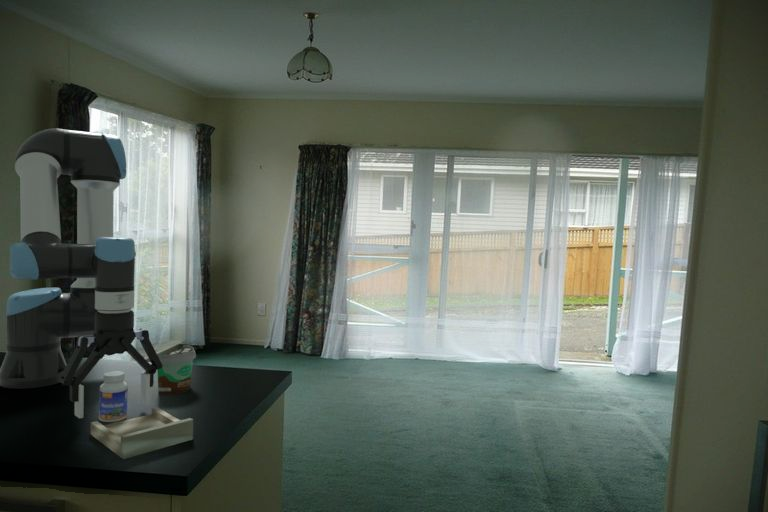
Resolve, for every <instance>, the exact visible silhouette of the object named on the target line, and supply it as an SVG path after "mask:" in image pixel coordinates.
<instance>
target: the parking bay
mask: <svg viewBox="0 0 768 512" xmlns="http://www.w3.org/2000/svg"><path fill="white" fill-rule="evenodd" d="M90 435H91V436H92V437H93V438H95V439H96V440H97V441H98V442H100V443H101V444H102V445H104V446H105V447H107V448H108V449H109V450H110V451H112V452H113V453H114V454H116V455H117V456H118V457H120V458H121V459H122V460H126V459H129V458H133V457H137V456H140V455H144V454H148V453H150V452H154V451H158V450H161V449H165V448H167V447H171V446H174V445H177V444H181V443H185V442H188V441H189V442H190V441H192V440H193V439H194V419H193V418H192V417H189V418H185V419H180V418H176V416H175V417H174V416H173V415H171V414H170V413H168V412H166V411H165V410H162V409H161V408H159V407H154V408H151V413H150V414H147V415H142V416H138V417H133V418H130V419H126V420H125V419H124V420H121V421H117V422H111V423H109V424H105V425H103V424H102V423H101V422H99V420H96V421H92V422H90Z"/></svg>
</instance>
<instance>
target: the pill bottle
mask: <svg viewBox="0 0 768 512" xmlns="http://www.w3.org/2000/svg"><path fill="white" fill-rule="evenodd" d="M125 378H126V377H125V372H124V371H117V370H116V371H108V372H104V374H103V383H102V384H101V385H100V386H99V394H98V395H99V396H98V397H99V399H98V404H99V405H98V421H100V422H103V423H116V422H121V421H124V420H125V419H126V418H127V417H128V416H127V415H128V396H129V395H128V384H127V383H128V382H126V381H124V380H125Z"/></svg>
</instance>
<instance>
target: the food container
mask: <svg viewBox="0 0 768 512" xmlns="http://www.w3.org/2000/svg"><path fill="white" fill-rule="evenodd" d="M157 355H158V357H159V359H160V361H161V363H162V365H163V367H162V368H161V369H158V370H156V372H157V389H158V392H157V393H158V394H159V395H176V394H182V393H185V392H187V391H188V390H190V389H191V383H192V373H193V364H194V360H195V359H196V357H197V354H196V350H195V349H194V347H193V346H191V345H186V344H183V345H182V348H180V349H178V350H171V351H169V352H168V353H166V354H157Z"/></svg>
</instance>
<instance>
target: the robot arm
mask: <svg viewBox="0 0 768 512" xmlns="http://www.w3.org/2000/svg"><path fill="white" fill-rule="evenodd" d="M14 170H15V172H16V174H17V175H18V177H19V178H20V179H19V180H20V181H19V187H20V188H19V192H20V194H19V196H20V197H19V199H20V201H19V203H20V206H19V207H20V209H19V210H20V212H19V213H20V242H16V243H15V242H14V243H12V244H11V245H10V246H9V250H10V251H9V260H10V261H9V266H10V267H9V271H10V272H9V274H10V276H11V277H12V278H14V279H18V280H19V279H21V280H22V279H23V280H43V279H44V280H45V279H46V280H47V279H76V280H75V281H74V282H73V283H72V284H71V285H70V292H62V291H63V290H62V289H61V288H60V287H55V286H54V287H40V288H34V289H28V290H23V291H19V292H15V293H12V294H11V295H10V296H9V297H8V299H7V301H6V312H5V316H6V353H5V356H4V359H3V361H2V364H1V366H0V387H2V388H5V389H14V390H15V389H17V390H18V389H20V390H21V389H22V390H23V389H34V388H35V389H36V388H42V387H49V386H53V385H56V384H59V383H61V384H62V385H64V386H69V400H70V401H71V402H72V403H74V416H75V417H77V418H78V419H83V418H84V407H85V406H84V403H85V402H84V400H85V399H84V397H85V396H84V395H85V392H84V390H85V388H84V387H85V386H84V385H82V384H81V383H82V382H83V381H84V379H86V377H87V376H88V375H89V374H90V372H91V371H92V370H93V369H94V367H95V366H96V365H97V364H98V362H99V361H100V360H101V359H103V358H104V357H105V355H106V356H109V357H110V356H114V355H116V354H118V355H122V354H124V353H125V352H126V353H128V355H130V357H131V358H132V359H133V360H134V361H136V363H137V364H138V365H139V366H140V367H141V369H143V370H144V371H141V372H140V402H142V403H144V404H147V405H149V404H150V400H151V399H150V398H151V397H150V396H151V394H150V392H151V389H150V388H153V386H154V380H155V379H154V375H156V373H157V370H158V369H161V368H162V367H163V365H162V363H161V361H160V359H159V357H158V355H159V354H158V353H157V351H156V350H155V348H154V346H153V344H152V342H151V341H150V340H151V339H150V333H149V330H147V329H144V328H140V329H138V330H134V327H135V312H134V311H133V309H134V307H135V270H136V269H135V268H136V266H135V265H136V263H135V262H136V255H137V252H136V248H135V247H136V246H135V245H136V244H135V240H134V239H133V238H131V237H124V236H123V237H121V236H119V237H118V236H114V192H115V190H116V189H117V188H119V186H120V185H121V183H120V182H121V181H120V180H124V179H126V177H127V158H126V151H125V148H124V144H123V142H122V140H121V138H119V137H118V136H117V135H115V134H107V133H103V132H95V131H94V132H93V131H83V130H71V129H63V128H57V127H56V128H48V129H47V128H46V129H43V130H40V131H38V132H35V133H34V134H33V135H30V136H29V137H28V138H27V139H26V140H25V141H24V142H23V143H22V144H21V145H20V146H19V148H18V150H17V152H16V154H15V158H14ZM61 175H64V176H65V175H67V176H70V183H71V184H72V185H73V187H75V189H76V190H77V200H76V203H77V204H76V205H77V207H76V208H77V215H76V220H77V221H76V224H77V228H76V229H77V230H76V231H77V233H76V237H77V239H76V243H62V235H61V233H62V232H61V221H60V219H61V217H60V203H59V189H58V186H59V185H58V178H59V177H60V176H61ZM64 338H76V339H77V340H76V346H75V349H74V350H73V352H72V354H71V356H70V357H69V360H68V361H67V363H66V359H65V356H64V353H63V352H62V348H61V346H62V345H61V340H62V339H64ZM135 339H136V340H138V341H139V343H140V344H141V346H142V348H143V350H144V351H145V354H146V357H148V359H149V361H150V363H149V361H148V360H146V358H145V357H144V356H143V355H142V354H141V353H140V352H139V351H138V350H137V348H136V347H135V346H134V345H132V343H133V342H134V340H135ZM92 343H93V344H94V345H95V347H93V349H92V351H91V352H90V354H89V356H88V357H87V358H86V359H85V361H84V362H82V360H83V358H84V356H85V354H86V352H87V349H88V348H89V347H90V346H91V344H92ZM81 362H82V364H81ZM80 364H81V365H80Z"/></svg>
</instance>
